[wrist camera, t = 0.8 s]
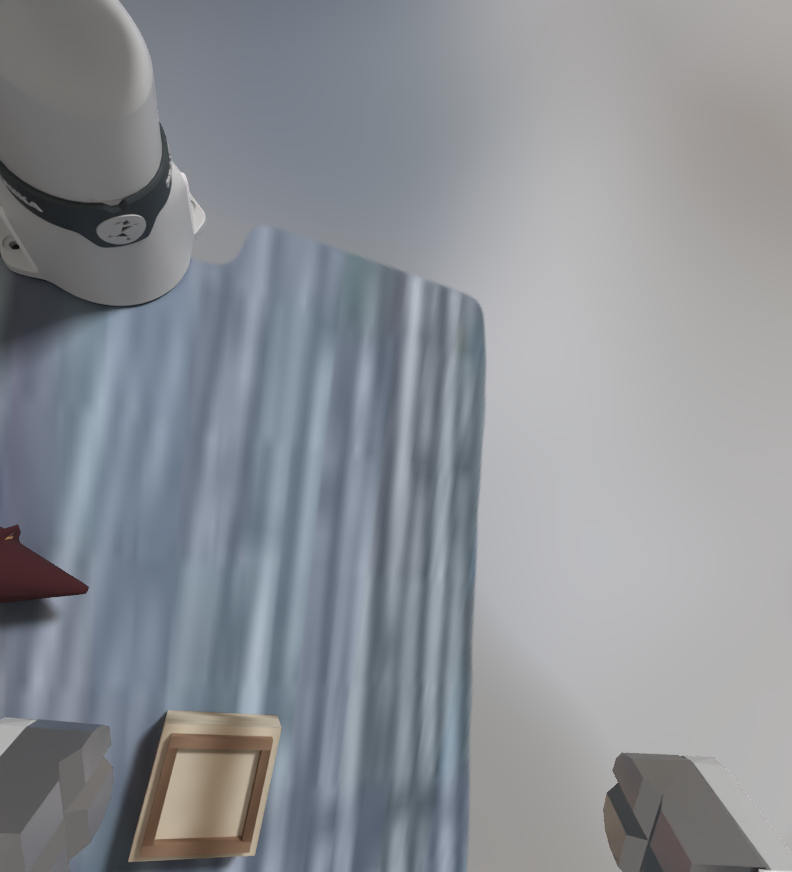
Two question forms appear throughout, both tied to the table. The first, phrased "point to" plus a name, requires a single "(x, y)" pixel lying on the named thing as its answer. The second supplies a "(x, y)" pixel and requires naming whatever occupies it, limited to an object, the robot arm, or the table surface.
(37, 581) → the icecream
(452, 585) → the table surface
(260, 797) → the base
